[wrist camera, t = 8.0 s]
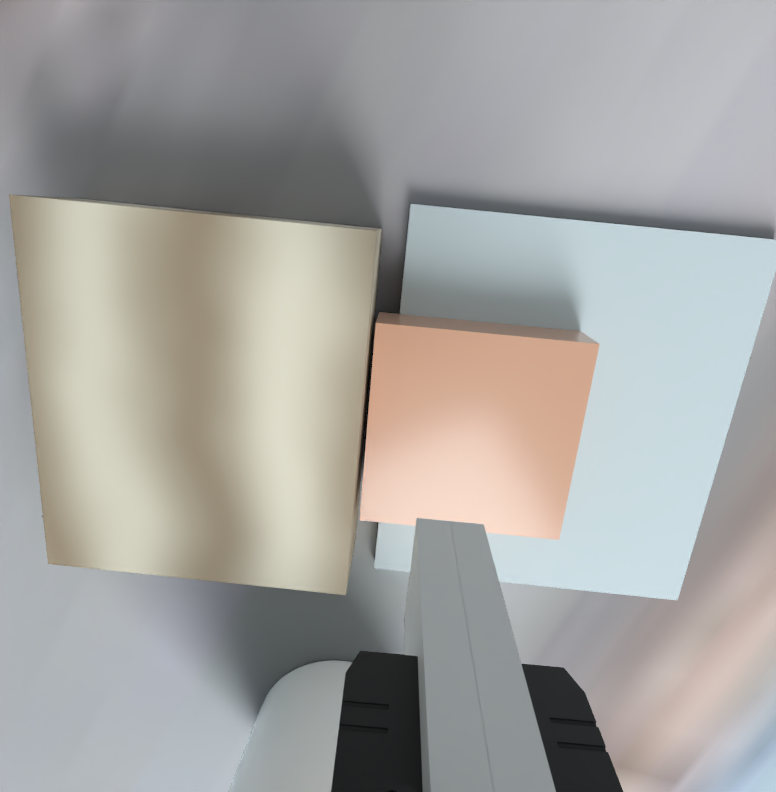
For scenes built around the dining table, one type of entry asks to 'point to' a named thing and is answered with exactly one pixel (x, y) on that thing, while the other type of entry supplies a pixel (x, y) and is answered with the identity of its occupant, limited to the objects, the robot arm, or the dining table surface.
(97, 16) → the dining table surface
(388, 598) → the dining table surface
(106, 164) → the dining table surface
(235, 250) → the birch board
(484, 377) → the terracotta tile
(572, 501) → the rubber mat
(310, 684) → the candle holder
